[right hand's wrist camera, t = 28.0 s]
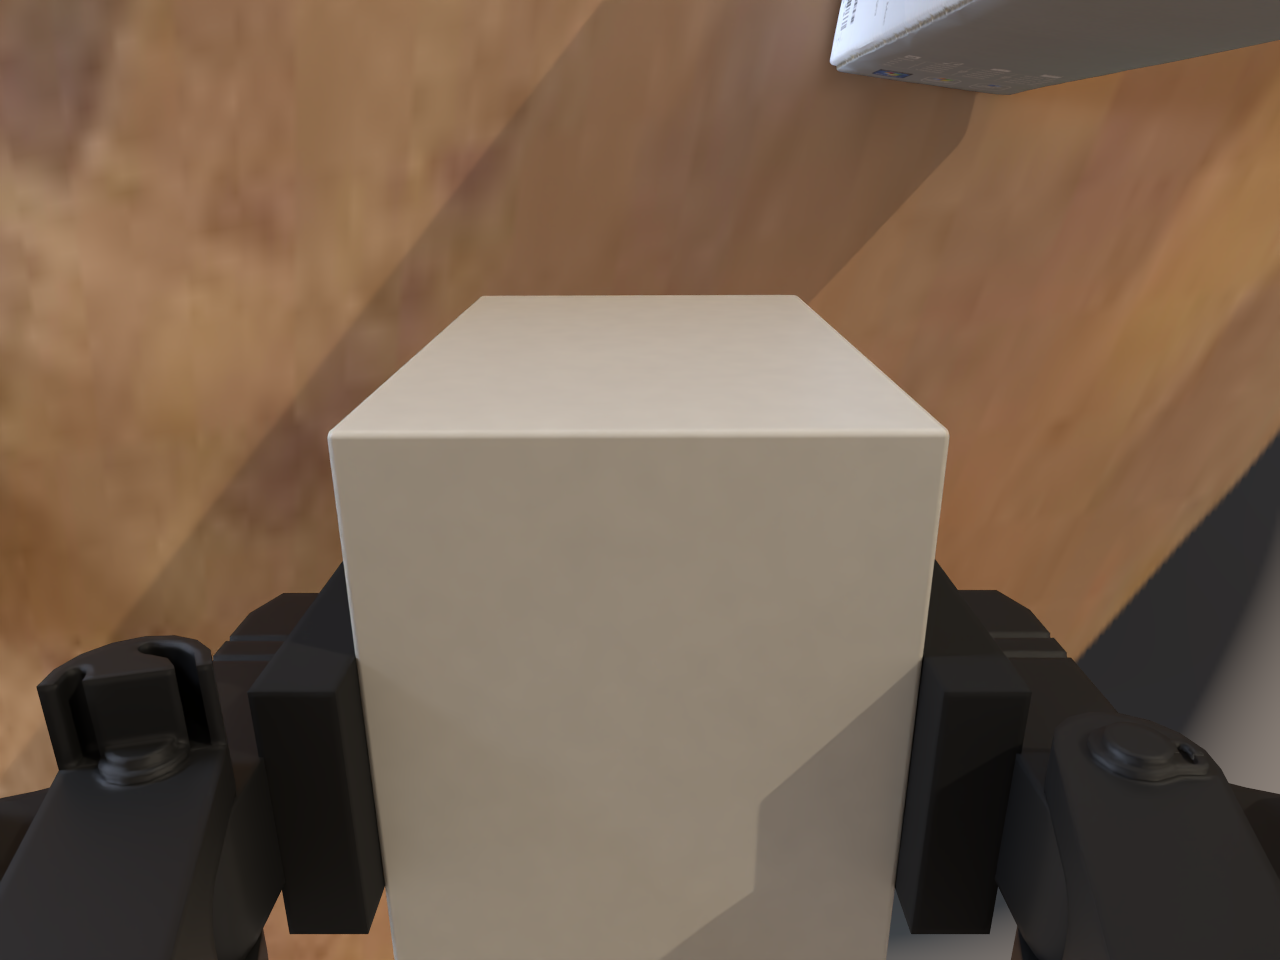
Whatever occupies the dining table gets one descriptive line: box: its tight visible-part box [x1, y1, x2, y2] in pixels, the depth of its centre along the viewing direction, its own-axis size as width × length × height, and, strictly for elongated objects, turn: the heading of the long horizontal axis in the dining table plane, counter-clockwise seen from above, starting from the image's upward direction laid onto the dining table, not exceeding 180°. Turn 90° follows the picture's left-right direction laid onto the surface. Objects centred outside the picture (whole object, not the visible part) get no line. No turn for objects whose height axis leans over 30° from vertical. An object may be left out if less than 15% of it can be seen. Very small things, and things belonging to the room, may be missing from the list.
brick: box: [327, 295, 950, 960], centre depth 12 cm, size 7×5×8 cm
